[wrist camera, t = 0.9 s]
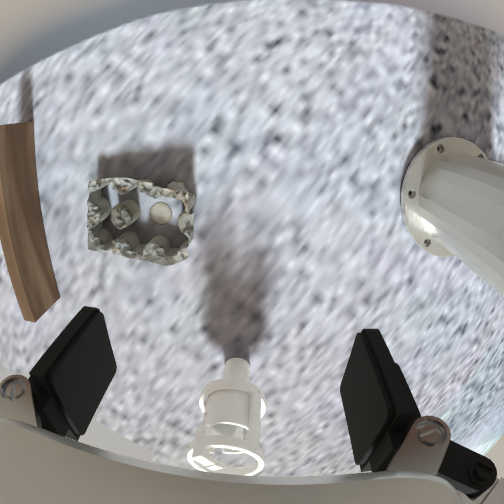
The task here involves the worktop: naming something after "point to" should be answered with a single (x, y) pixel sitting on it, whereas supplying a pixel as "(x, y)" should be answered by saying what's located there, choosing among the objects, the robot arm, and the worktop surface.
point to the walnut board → (24, 223)
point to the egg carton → (129, 212)
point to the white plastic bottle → (229, 421)
